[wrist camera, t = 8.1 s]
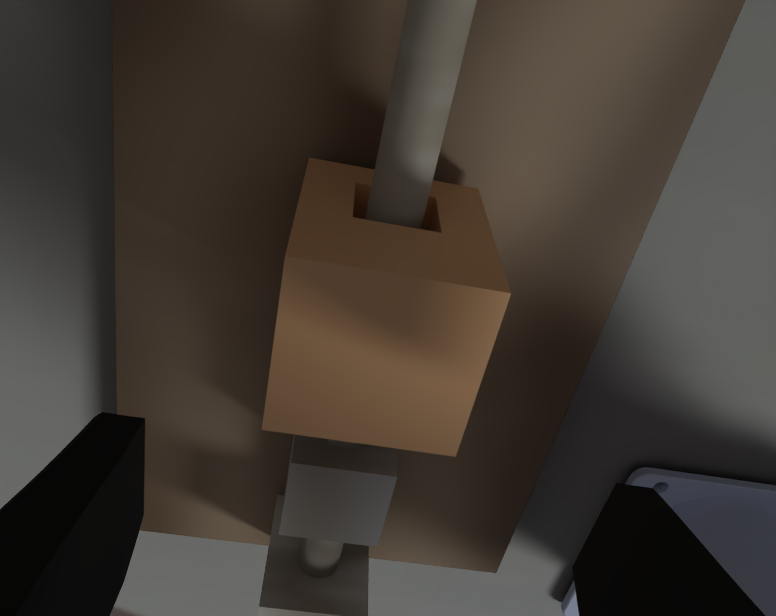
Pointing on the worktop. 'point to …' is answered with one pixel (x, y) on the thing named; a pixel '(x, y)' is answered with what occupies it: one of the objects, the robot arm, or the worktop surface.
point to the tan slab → (388, 205)
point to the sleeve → (383, 316)
